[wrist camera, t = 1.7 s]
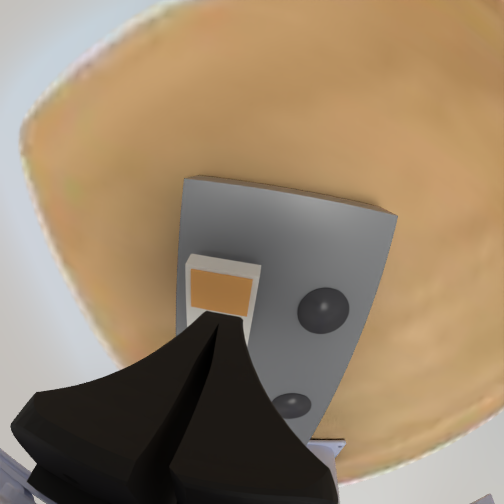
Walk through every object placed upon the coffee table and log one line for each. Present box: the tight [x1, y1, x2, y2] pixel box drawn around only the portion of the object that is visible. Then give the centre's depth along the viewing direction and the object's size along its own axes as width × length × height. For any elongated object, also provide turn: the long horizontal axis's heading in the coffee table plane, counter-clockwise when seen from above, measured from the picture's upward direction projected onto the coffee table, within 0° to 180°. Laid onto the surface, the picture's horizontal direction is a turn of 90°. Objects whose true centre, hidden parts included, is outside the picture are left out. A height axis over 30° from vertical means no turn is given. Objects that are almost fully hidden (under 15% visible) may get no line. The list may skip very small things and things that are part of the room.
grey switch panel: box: [176, 175, 398, 446], centre depth 19 cm, size 22×12×3 cm, turn 172°
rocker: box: [185, 254, 261, 345], centre depth 15 cm, size 6×4×1 cm, turn 172°
